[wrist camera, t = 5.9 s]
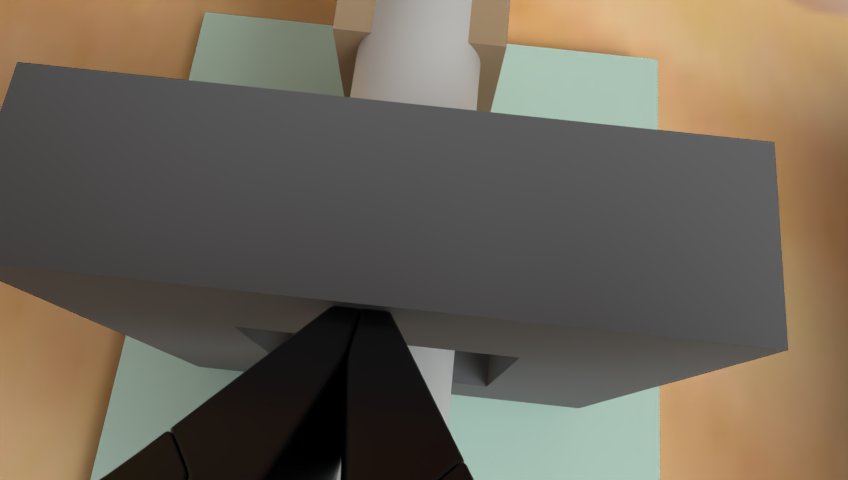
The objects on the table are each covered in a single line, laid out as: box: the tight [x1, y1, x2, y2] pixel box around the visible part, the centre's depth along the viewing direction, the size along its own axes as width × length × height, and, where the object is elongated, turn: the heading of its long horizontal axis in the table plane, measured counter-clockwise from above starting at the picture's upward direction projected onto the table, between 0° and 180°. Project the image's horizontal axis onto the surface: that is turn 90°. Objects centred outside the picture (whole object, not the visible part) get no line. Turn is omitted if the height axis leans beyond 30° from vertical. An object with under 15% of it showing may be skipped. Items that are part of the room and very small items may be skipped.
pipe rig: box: [90, 0, 660, 480], centre depth 16 cm, size 25×16×9 cm, turn 174°
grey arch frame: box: [0, 62, 788, 408], centre depth 14 cm, size 3×11×11 cm, turn 84°
